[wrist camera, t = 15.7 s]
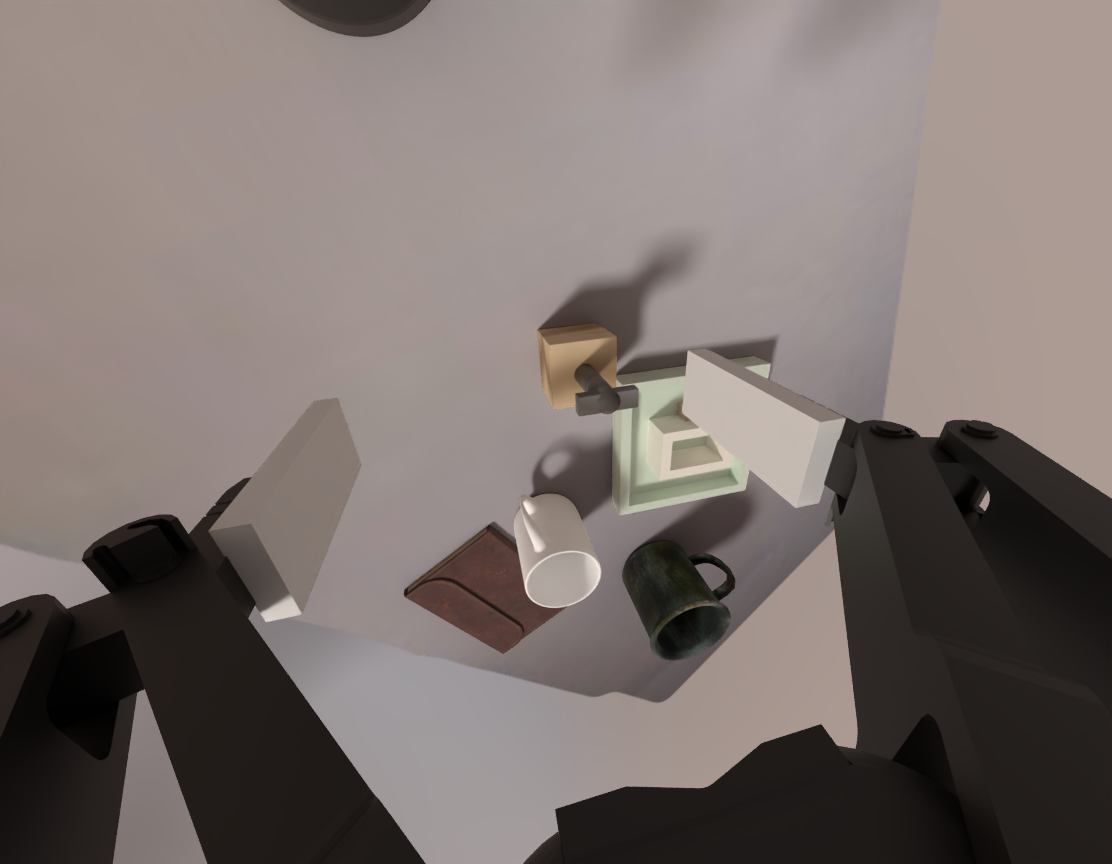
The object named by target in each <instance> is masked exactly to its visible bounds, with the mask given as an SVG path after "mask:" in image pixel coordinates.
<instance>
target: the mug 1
mask: <svg viewBox="0 0 1112 864" xmlns="http://www.w3.org/2000/svg"><path fill="white" fill-rule="evenodd" d="M519 501H520V509H519V510H518V512H517V514H516V516H515V520H514V531H515V537H516V543H517V548H518V553H519V559H520V564H521V569H522V575H523V580H524V585H525V590H526V593H527V595H528V597H529V598H530V599H531V600H532V601H533V602H535V603H536V604H538V605H540V606H544V607H549V608H559V607H565V606H569V605H572V604H575V603H577V602H579V601H581V600H583V599H584V598H586V597H587V596H588V595H589V594H591V593H592V592H593V590H594V589H595V588H596V587H597V585H598V583H599V581H600V578H601V566H600V563H599V561H598V558H597V556H596V553H595V551H594V549H593V546H592V544H591V542H590V539H589V537H588V534H587V532H586V530H585V527H584V525H583V523H582V520H581V518H580V515H579V513H578V511H577V509H576V507H575V506H574V504H573V503H572V502H571V501H570V500H569V499H567V498H566V497H564V496H562V495H558V494H551V493H550V494H542V495H538V496H535V497H533V498H532V497H530V496H528V495H522V496H521V497H520V498H519Z"/></svg>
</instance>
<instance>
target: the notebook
mask: <svg viewBox="0 0 1112 864" xmlns="http://www.w3.org/2000/svg"><path fill="white" fill-rule="evenodd" d="M404 596H405V597H406V598H408V599H409V600H411V601H413V602H414V603H416V604H418V605H420V606H421V607H423V608H425V609H427V610H428V611H430V612H432V613H433V614H435V615H437V616H439V617H440V618H442V619H444V620H446V621H447V622H449V623H451V624H452V625H454V626H456V627H458V628H459V629H461V630H463V631H464V632H466V633H468V634H470V635H471V636H473V637H475V638H477V639H478V640H480V641H482V642H483V643H485V644H487V645H489V646H490V647H492V648H494V649H496V650H497V651H499V652H501V653H502V654H504V653H505V652H507V651H508V650H510V649H511V648H512V647H514V646H515V645H517V644H518V643H519V642H520V640H521V639H523V638H524V637H525V636H527V635H528V634H530V633H531V632H532V631H534V630H535V629H537V628H538V627H539V626H541V625H542V624H544V623H545V622H546V621H548V620H549V619H551V618H552V617H553V616H555V615H556V614H558V613H559V612H560V611H562V610H563V609H565V608H566V607H567V606H565V607H559V608H549V607H544V606H540V605H538V604H536V603H535V602H533V601H532V600H531V599H530V598H529V597H528V595H527V593H526V590H525V585H524V580H523V575H522V569H521V564H520V559H519V553H518V548H517V546H515V545H514V544H513V543H512V542H510V541H509V540H508V539H507V538H505V537H504V536H503V535H502V534H500V533H499V532H498V531H497V530H495V529H494V528H493V527H492V526H490V525H488V527H487V528H485V529H484V530H483V531H482V532H480V533H479V534H478V535H476V536H475V537H474V538H472V539H471V540H470V541H468V542H467V543H466V544H465V545H463V546H462V547H461V548H459V549H458V550H457V551H455V552H454V553H453V554H452V555H450V556H449V557H448V558H446V559H445V560H444V561H442V562H441V563H440V564H438V565H437V566H436V567H435V568H433V569H432V570H431V571H429V572H428V573H427V574H425V575H424V576H423V577H421V578H420V579H419V580H418V581H416V582H415V583H414V584H412V585H411V586H410V587H408V589H405V590H404Z"/></svg>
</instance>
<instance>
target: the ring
mask: <svg viewBox="0 0 1112 864" xmlns="http://www.w3.org/2000/svg"><path fill="white" fill-rule="evenodd" d="M682 406H683V402H678V409H677V414H676V415H670V416H664V417H657V418H651V419H649V422H648V441H647V459H646V464H647V465H648V466H649V467H650V469H651V470H652V471H653V472H654V474H655V475H656V476H657V478H658V479H659V480H660V481H662V480H667V479H672V478H677V477H683V476H688V475H693V474H698V473H703V472H709V471H714V470H719V469H724V468H730V467H731V464H732V458H733V455H732V454H731V453H729V452H728V451H727V450H726V449H725V448H723V447H722V446H721V445H720V444H719V443H717V442H716V441H715V440H714V439H713V438H711V437H710V436H709V435H708V434H707V433H705V432H704V431H703V430H702V429H701V428H699V427H698V426H697V425H696V424H695V423H693V422H692V421H691V420H690V419H689V418H687V417H686V416H685V415H684V414H683V413H682ZM702 436H707V438H706V445H702V446H697V447H691V448H686V449H680V450H674V451H672V444H673V441H679V440H685V439H690V438H696V437H702Z"/></svg>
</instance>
